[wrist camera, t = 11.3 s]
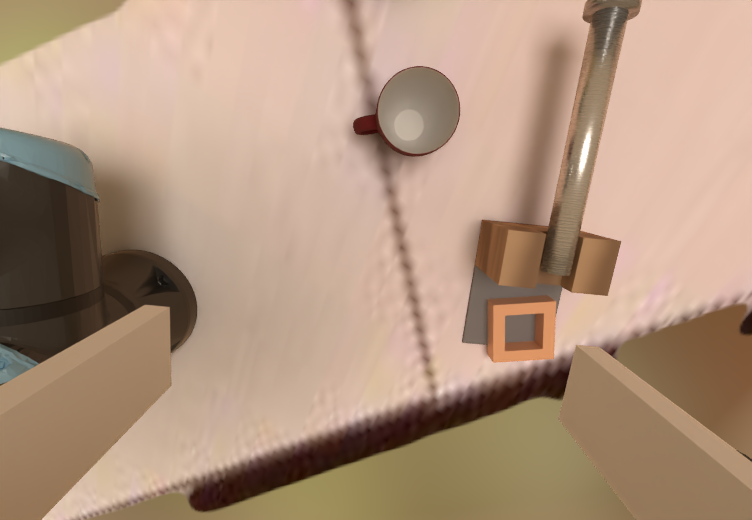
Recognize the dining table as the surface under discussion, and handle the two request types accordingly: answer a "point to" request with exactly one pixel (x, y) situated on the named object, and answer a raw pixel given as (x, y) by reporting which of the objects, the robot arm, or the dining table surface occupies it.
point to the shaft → (585, 128)
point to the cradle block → (524, 256)
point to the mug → (414, 112)
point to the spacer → (528, 349)
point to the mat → (515, 325)
